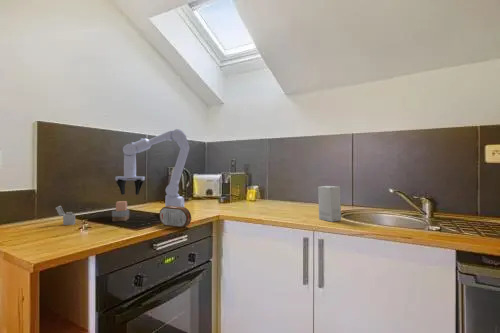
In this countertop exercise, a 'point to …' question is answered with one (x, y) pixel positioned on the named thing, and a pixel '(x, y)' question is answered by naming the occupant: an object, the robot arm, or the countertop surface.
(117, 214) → the charcoal slab
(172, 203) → the robot arm
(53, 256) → the countertop surface
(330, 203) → the skincare box
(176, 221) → the tin
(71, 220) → the lighter
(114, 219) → the walnut slab
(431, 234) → the countertop surface
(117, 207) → the terracotta cube
